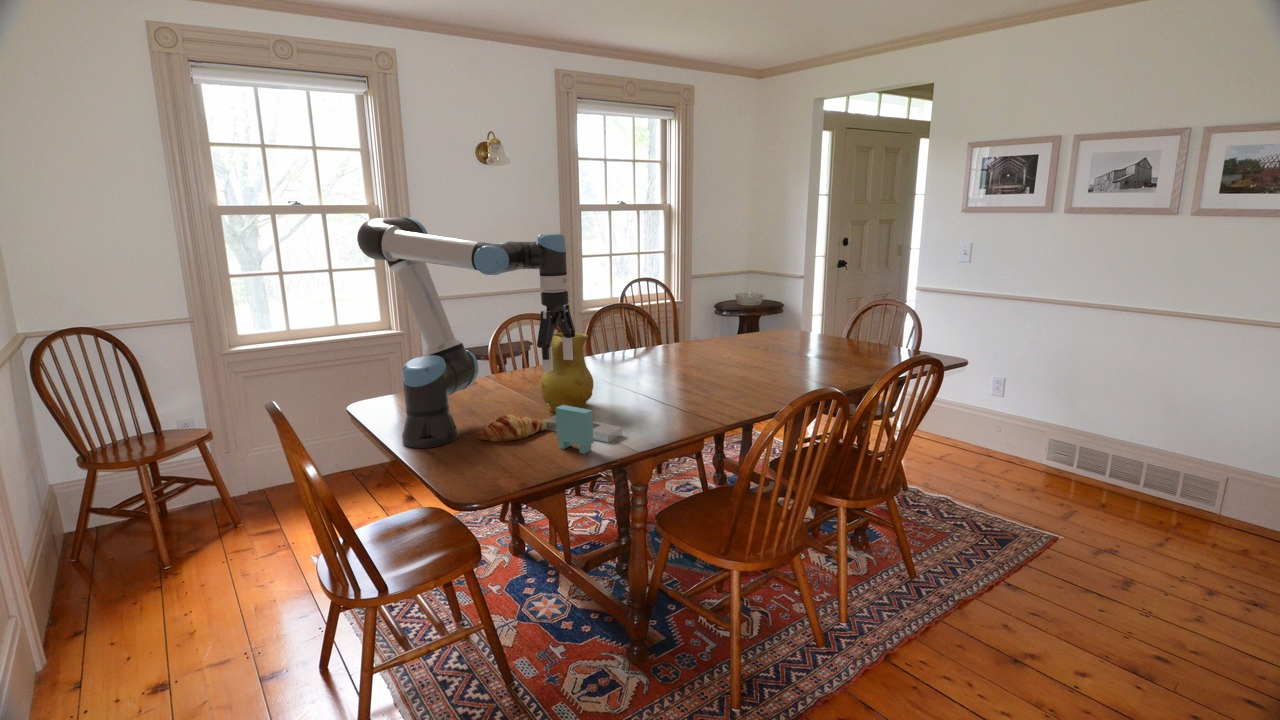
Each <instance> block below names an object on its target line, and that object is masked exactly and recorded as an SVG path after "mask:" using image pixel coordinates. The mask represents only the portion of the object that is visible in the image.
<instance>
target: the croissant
mask: <svg viewBox="0 0 1280 720" xmlns="http://www.w3.org/2000/svg"><path fill="white" fill-rule="evenodd" d="M542 421H543V420H540V419H537V418H535V419H533V418H529V417H528V416H526V415H523V416H518V417H517V416H515V415H513V414H503V415H500V416H499V417H497V418H496V419H495V421H493V422H492V421H491V423H489V425H488V426H487V427H486V426H485V427H482V428H481V429H480V430H479V431H475V437H476V438H477V439H481V440H483V441H489V442H496V443H497V442H510V441H513V440H515V441H516V440H520V439H524V438H527V437H529V436H533V435H534V434H536V433H537V432H542V431H543V430H546V429H545V428H546V425H547V423H546V422H542Z"/></svg>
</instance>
